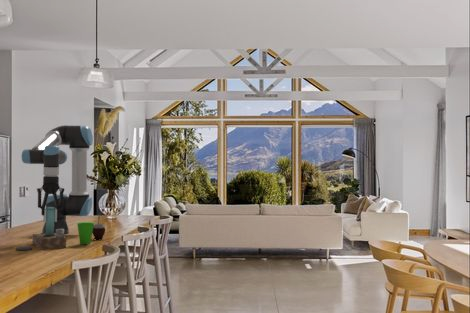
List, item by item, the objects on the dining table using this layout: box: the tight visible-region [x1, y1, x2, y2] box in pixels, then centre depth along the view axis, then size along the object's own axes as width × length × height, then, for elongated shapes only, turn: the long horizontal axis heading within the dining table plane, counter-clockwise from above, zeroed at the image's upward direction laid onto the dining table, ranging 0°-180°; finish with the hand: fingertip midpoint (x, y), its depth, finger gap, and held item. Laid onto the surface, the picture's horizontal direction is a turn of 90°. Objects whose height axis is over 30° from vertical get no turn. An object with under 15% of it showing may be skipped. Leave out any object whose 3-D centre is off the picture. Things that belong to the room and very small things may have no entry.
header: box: [31, 229, 67, 250], centre depth 275 cm, size 12×20×9 cm, turn 32°
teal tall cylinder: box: [45, 206, 55, 235], centre depth 276 cm, size 5×5×14 cm
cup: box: [76, 221, 96, 245], centre depth 283 cm, size 9×9×11 cm
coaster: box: [15, 246, 33, 252], centre depth 261 cm, size 7×7×1 cm
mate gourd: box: [92, 213, 106, 240], centre depth 302 cm, size 8×8×15 cm
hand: (50, 221), depth 276 cm, fingers closed on teal tall cylinder, 5 cm apart
